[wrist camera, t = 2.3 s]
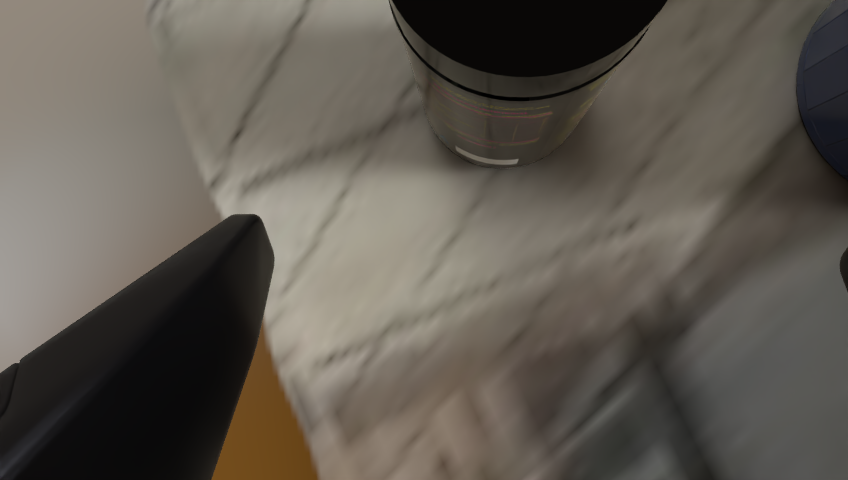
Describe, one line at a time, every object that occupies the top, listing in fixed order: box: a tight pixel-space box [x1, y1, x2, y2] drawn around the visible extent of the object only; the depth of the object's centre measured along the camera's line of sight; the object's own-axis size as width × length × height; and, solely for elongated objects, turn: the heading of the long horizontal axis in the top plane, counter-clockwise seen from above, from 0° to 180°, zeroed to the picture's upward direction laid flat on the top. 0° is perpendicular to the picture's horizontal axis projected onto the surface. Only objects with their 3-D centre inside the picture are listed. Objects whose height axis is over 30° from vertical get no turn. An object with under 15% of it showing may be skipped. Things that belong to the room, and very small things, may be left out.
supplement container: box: [389, 0, 667, 168], centre depth 16 cm, size 7×7×10 cm
